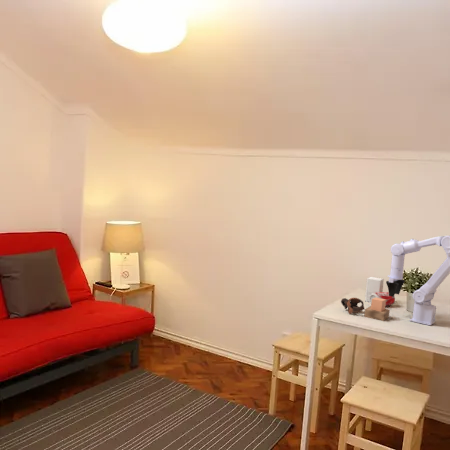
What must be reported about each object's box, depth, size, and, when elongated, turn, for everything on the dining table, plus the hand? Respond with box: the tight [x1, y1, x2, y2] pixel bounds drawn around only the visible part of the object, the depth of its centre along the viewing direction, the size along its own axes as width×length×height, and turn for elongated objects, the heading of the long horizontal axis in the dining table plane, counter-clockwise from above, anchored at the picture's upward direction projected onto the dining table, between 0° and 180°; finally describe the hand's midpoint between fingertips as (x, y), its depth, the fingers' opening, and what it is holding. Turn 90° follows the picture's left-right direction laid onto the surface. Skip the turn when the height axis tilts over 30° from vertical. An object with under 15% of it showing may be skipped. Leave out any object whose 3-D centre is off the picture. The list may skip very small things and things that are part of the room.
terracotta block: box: [370, 297, 386, 311], centre depth 227 cm, size 5×5×5 cm
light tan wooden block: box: [364, 305, 391, 322], centre depth 227 cm, size 9×9×4 cm
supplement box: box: [364, 276, 385, 303], centre depth 257 cm, size 7×7×13 cm
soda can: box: [369, 291, 396, 307], centre depth 249 cm, size 7×7×12 cm
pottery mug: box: [340, 297, 365, 315], centre depth 232 cm, size 12×10×8 cm
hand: (394, 295), depth 234 cm, fingers open, 7 cm apart
